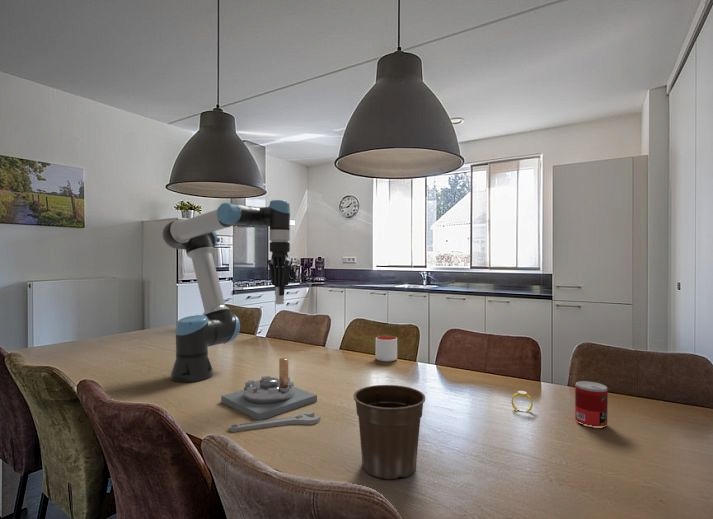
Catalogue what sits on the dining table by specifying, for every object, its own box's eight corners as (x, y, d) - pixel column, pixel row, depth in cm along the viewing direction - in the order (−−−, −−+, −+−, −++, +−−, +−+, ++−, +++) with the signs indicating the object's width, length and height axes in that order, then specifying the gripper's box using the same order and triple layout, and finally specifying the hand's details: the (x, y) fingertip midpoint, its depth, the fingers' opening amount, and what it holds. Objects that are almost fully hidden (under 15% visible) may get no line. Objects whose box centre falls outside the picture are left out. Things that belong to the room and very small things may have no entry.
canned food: (607, 431, 111) (607, 391, 111) (574, 425, 115) (574, 386, 115) (607, 422, 117) (607, 383, 117) (576, 416, 122) (576, 379, 122)
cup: (400, 358, 190) (401, 337, 190) (390, 363, 181) (391, 340, 181) (382, 355, 195) (382, 334, 195) (371, 360, 187) (371, 338, 187)
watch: (531, 411, 126) (533, 392, 126) (531, 415, 123) (533, 395, 123) (511, 407, 128) (512, 388, 128) (510, 410, 126) (512, 391, 126)
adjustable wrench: (228, 434, 110) (228, 427, 110) (230, 424, 116) (230, 418, 116) (320, 424, 116) (320, 418, 116) (317, 416, 122) (317, 410, 122)
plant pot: (364, 445, 103) (364, 381, 103) (429, 454, 98) (429, 387, 98) (343, 478, 87) (344, 403, 87) (419, 491, 83) (419, 412, 82)
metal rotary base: (233, 396, 132) (233, 356, 132) (272, 384, 145) (272, 347, 144) (267, 408, 122) (267, 365, 122) (305, 394, 134) (306, 355, 134)
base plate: (221, 401, 133) (221, 395, 133) (277, 386, 149) (277, 380, 149) (259, 420, 118) (259, 413, 118) (317, 401, 134) (317, 395, 134)
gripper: (298, 241, 152) (298, 304, 153) (277, 242, 161) (277, 301, 162) (282, 240, 147) (281, 306, 147) (261, 241, 156) (261, 303, 156)
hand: (279, 304), depth 154 cm, fingers closed
